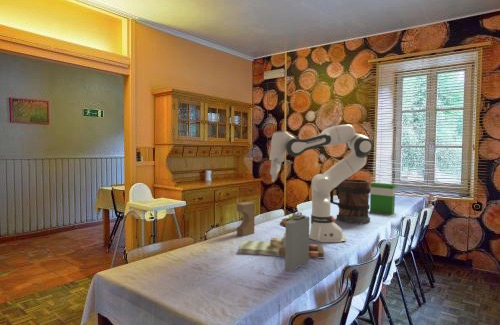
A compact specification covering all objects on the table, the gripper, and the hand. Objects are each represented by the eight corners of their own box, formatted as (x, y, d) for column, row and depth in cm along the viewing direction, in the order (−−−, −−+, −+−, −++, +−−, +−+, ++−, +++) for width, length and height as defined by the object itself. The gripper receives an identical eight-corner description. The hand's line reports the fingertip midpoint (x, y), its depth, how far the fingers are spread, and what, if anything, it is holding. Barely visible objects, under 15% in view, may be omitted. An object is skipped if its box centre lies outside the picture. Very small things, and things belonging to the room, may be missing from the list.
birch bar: (300, 246, 179) (300, 239, 178) (300, 249, 174) (300, 241, 174) (271, 244, 181) (271, 237, 181) (270, 247, 177) (270, 240, 176)
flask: (301, 259, 166) (302, 210, 165) (309, 261, 163) (310, 211, 162) (282, 269, 153) (282, 216, 151) (290, 272, 150) (291, 218, 148)
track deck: (322, 249, 181) (322, 244, 181) (324, 258, 168) (324, 253, 168) (244, 244, 189) (244, 240, 188) (239, 253, 175) (239, 248, 175)
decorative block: (242, 236, 205) (242, 204, 203) (236, 234, 209) (236, 203, 208) (254, 233, 212) (255, 202, 211) (248, 231, 217) (249, 201, 215)
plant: (307, 221, 246) (307, 206, 245) (309, 228, 227) (309, 212, 226) (280, 220, 248) (280, 205, 247) (280, 227, 229) (280, 211, 228)
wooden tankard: (365, 225, 233) (366, 183, 231) (325, 220, 249) (325, 180, 247) (372, 219, 252) (374, 180, 250) (335, 214, 268) (336, 177, 266)
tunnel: (298, 245, 181) (298, 233, 180) (298, 250, 172) (298, 238, 172) (284, 244, 182) (284, 232, 181) (283, 249, 174) (283, 237, 173)
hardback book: (370, 211, 280) (370, 183, 278) (372, 210, 285) (373, 182, 284) (391, 214, 269) (392, 185, 267) (394, 212, 275) (395, 184, 273)
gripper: (280, 160, 185) (277, 183, 187) (283, 156, 205) (281, 178, 207) (269, 158, 186) (266, 182, 188) (273, 155, 206) (271, 177, 208)
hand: (274, 180), depth 198 cm, fingers open, 8 cm apart
